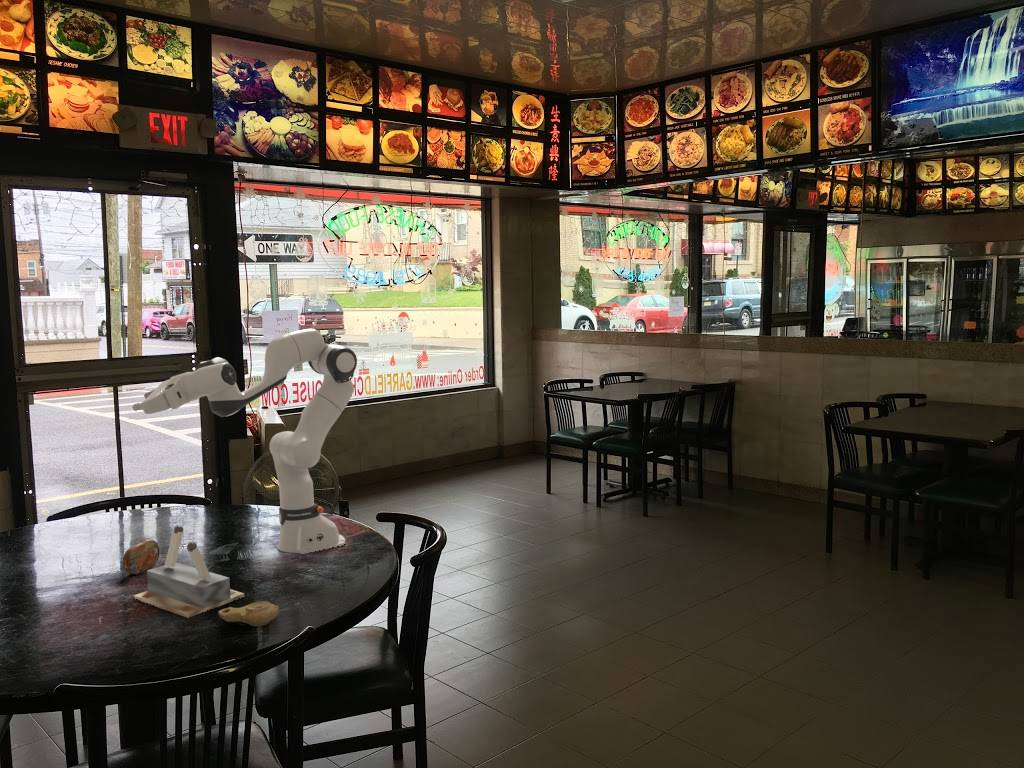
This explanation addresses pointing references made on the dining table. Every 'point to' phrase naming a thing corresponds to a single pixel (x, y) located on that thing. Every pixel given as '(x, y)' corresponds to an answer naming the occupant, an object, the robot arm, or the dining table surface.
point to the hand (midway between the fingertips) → (139, 402)
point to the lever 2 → (198, 561)
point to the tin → (141, 557)
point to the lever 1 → (174, 546)
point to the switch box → (186, 590)
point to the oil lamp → (251, 613)
